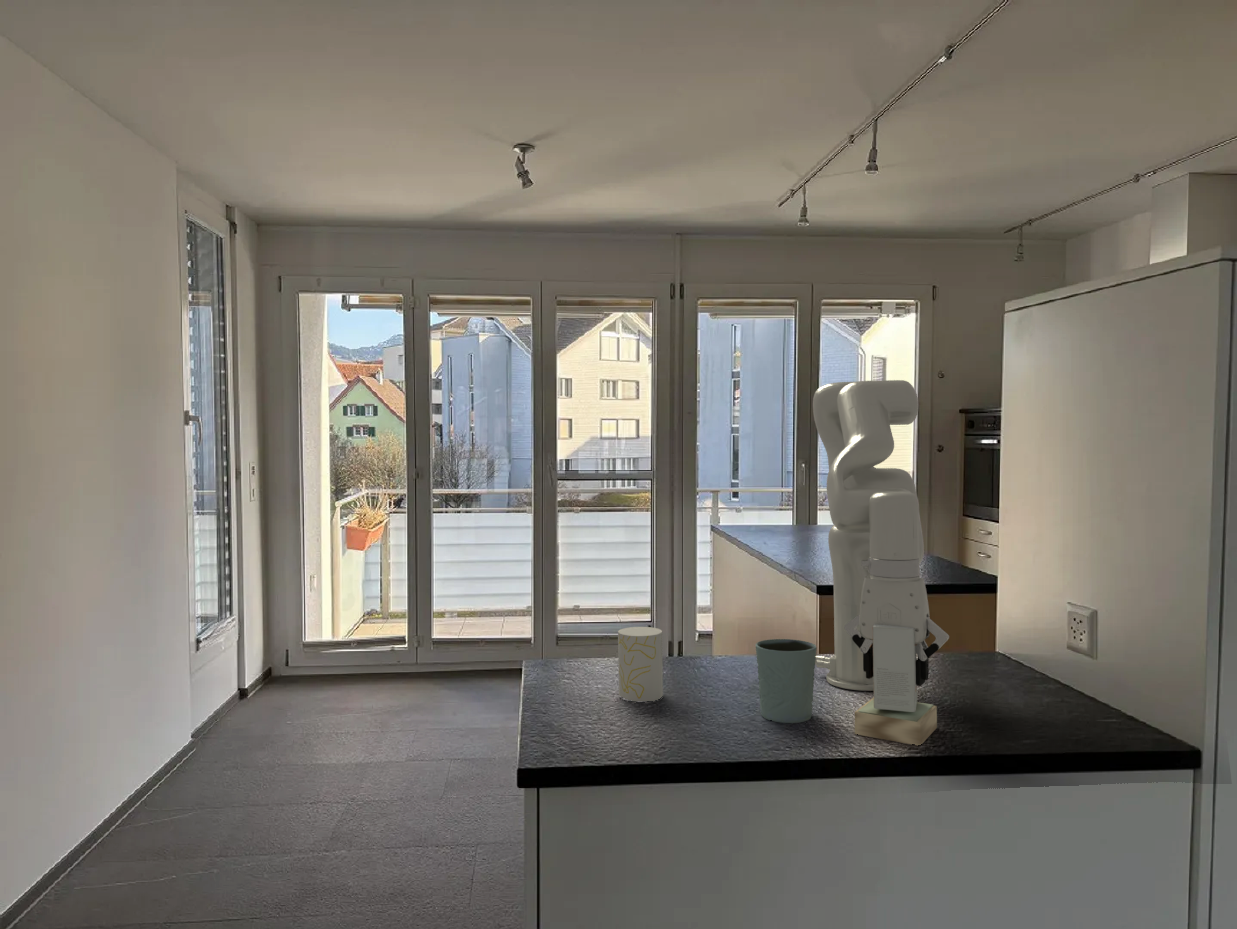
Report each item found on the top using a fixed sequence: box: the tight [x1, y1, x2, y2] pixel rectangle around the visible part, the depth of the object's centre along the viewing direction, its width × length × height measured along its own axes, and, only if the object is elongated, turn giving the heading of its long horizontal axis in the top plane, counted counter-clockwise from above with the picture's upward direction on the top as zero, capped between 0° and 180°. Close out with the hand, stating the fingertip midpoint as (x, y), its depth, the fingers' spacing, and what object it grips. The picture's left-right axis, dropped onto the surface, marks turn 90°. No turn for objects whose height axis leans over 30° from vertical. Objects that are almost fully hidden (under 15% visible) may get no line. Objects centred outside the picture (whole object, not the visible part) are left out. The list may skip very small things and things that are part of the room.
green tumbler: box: [755, 638, 817, 724], centre depth 141 cm, size 10×10×12 cm
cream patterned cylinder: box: [617, 626, 664, 702], centre depth 153 cm, size 8×8×12 cm
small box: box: [872, 624, 918, 712], centre depth 132 cm, size 8×6×13 cm
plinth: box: [854, 696, 938, 746], centre depth 132 cm, size 10×10×4 cm
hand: (895, 679), depth 132 cm, fingers closed on small box, 7 cm apart
